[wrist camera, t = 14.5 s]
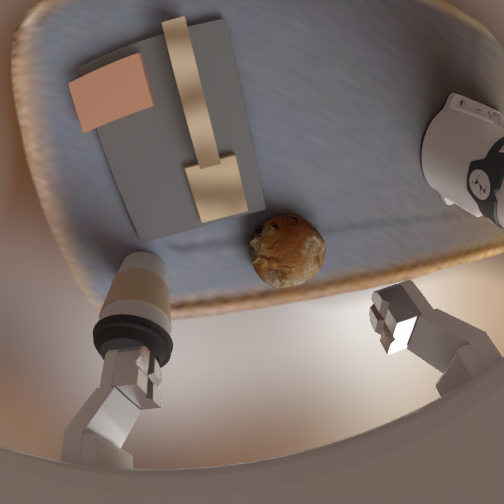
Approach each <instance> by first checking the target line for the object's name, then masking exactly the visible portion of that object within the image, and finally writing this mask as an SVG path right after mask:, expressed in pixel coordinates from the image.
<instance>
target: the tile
mask: <svg viewBox="0 0 504 504" xmlns="http://www.w3.org/2000/svg"><path fill="white" fill-rule="evenodd" d="M68 84H69V88H70V91H71V95H72V98H73V102H74V105H75V108H76V111H77V115H78V118H79V121H80V124H81V127H82V130H83V133H86V132H88V131H91V130H93V129H95V128H97V127H100V126H102V125H104V124H107V123H109V122H112V121H114V120H117V119H119V118H122V117H124V116H127V115H130V114H132V113H135V112H138V111H141V110H143V109H146V108H149V107H152V106H154V105H156V104H155V100H154V96H153V93H152V89H151V86H150V82H149V78H148V74H147V71H146V67H145V63H144V59H143V55H142V53H136V54H134V55H131V56H128V57H126V58H123V59H121V60H118V61H116V62H113V63H111V64H109V65H106V66H104V67H102V68H99V69H97V70H95V71H93V72H91V73H88V74H86V75H84V76H82V77H80V78H78V79H76V80H74V81H72V82H70V83H68Z"/></svg>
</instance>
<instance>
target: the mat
mask: <svg viewBox="0 0 504 504" xmlns="http://www.w3.org/2000/svg"><path fill="white" fill-rule="evenodd" d="M188 32H189V36H190V40H191V44H192V48H193V52H194V56H195V61H196V65H197V69H198V73H199V77H200V81H201V85H202V89H203V93H204V97H205V101H206V105H207V109H208V113H209V117H210V121H211V125H212V129H213V133H214V137H215V141H216V145H217V149H218V153H219V157H223V156H227V155H231V154H235V156H236V160H237V164H238V169H239V173H240V178H241V182H242V186H243V191H244V195H245V199H246V204H247V208H248V211H247V212H243V213H239V214H235V215H231V216H227V217H223V218H219V219H216V220H212V221H208V222H204V223H202V222H201V219H200V216H199V212H198V209H197V206H196V203H195V200H194V197H193V194H192V190H191V187H190V184H189V181H188V177H187V174H186V171H185V167H186V166H190V165H193V164H197V163H198V160H197V157H196V153H195V150H194V146H193V142H192V139H191V135H190V132H189V128H188V124H187V121H186V117H185V113H184V109H183V106H182V102H181V98H180V94H179V90H178V87H177V83H176V79H175V75H174V71H173V67H172V63H171V59H170V55H169V51H168V47H167V43H166V39H165V35H164V33H163V34H160V35H157V36H154V37H151V38H148V39H145V40H142V41H139V42H136V43H134V44H131V45H128V46H126V47H123V48H121V49H118V50H116V51H113V52H111V53H108V54H106V55H104V56H102V57H99V58H97V59H95V60H93V61H91V62H88V63H86V64H84V65H82V66H80V67H78V68H79V72H80V76H81V77H82V76H84V75H86V74H88V73H91V72H93V71H95V70H97V69H99V68H102V67H104V66H106V65H109V64H111V63H113V62H116V61H118V60H121V59H123V58H126V57H128V56H131V55H134V54H136V53H142V55H143V59H144V63H145V67H146V71H147V74H148V78H149V82H150V86H151V89H152V93H153V96H154V100H155V104H156V105H154V106H152V107H149V108H146V109H143V110H141V111H138V112H135V113H132V114H130V115H127V116H124V117H122V118H119V119H117V120H114V121H112V122H109V123H107V124H104V125H102V126H100V127H97V128H96V129H97V132H98V135H99V138H100V141H101V143H102V146H103V149H104V152H105V155H106V157H107V160H108V163H109V166H110V168H111V171H112V173H113V176H114V179H115V181H116V184H117V186H118V189H119V191H120V194H121V196H122V198H123V201H124V203H125V206H126V208H127V210H128V213H129V215H130V217H131V220H132V222H133V224H134V227H135V229H136V231H137V233H138V235H139V238H140V240H141V242H142V243H144V242H147V241H151V240H154V239H158V238H161V237H165V236H168V235H172V234H175V233H179V232H183V231H186V230H190V229H193V228H197V227H201V226H205V225H208V224H212V223H216V222H220V221H223V220H227V219H231V218H235V217H239V216H243V215H247V214H251V213H255V212H259V211H263V210H266V206H265V201H264V196H263V190H262V185H261V180H260V175H259V170H258V165H257V160H256V155H255V150H254V145H253V141H252V136H251V131H250V126H249V121H248V117H247V112H246V107H245V103H244V98H243V93H242V89H241V84H240V80H239V75H238V71H237V66H236V62H235V57H234V53H233V48H232V44H231V40H230V35H229V31H228V27H227V23H226V19H220V20H215V21H210V22H206V23H201V24H197V25H193V26H189V27H188Z"/></svg>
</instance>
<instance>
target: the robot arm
mask: <svg viewBox="0 0 504 504" xmlns="http://www.w3.org/2000/svg"><path fill="white" fill-rule="evenodd" d="M422 168H423V173H424V176H425V178H426V180H427V182H428V183H429V185H430V186H431V187H432V188H434V189H435V190H436V191H438V192H439V193H440V196H441V198H442V201H443V202H444V203H445V204H447V205H452V204H454V203H455V204H457V205H458V206H460V207H462V208H463V209H465V210H467V211H468V212H470V213H471V214H473V215H475V216H477V217H480V216H482V215H483V216H485V217H486V218H487V219H488V220H489V221H490V222H491V223H493V224H494V225H497V226H498V227H499V228H502V229H504V115H502V114H501V113H500V112H499V111H497V110H495V109H492V108H490V107H488V106H486V105H484V104H481V103H479V102H477V101H474V100H472V99H470V98H467V97H465V96H462V95H459V94H457V93H451V94H450V95H449V97H448V99H447V101H446V104H445V106H444V108H443V109H442V110H441V111H440V112H439V113H438V114H437V115H436V116H435V117H434V119H433V120H432V122H431V123H430V125H429V127H428V129H427V131H426V134H425V137H424V141H423V146H422ZM372 301H373V303H374V304H373V305H372V306H371V307H370V313H369V314H370V321H371V324H372V326H373V328H374V330H375V332H377V333H379V334H381V339H380V342H381V343H382V345H383V347H384V349H385V351H386V353H387V354H390V353H393V352H396V351H399V350H401V349H404V348H406V347H407V349H409V350H410V351H411V352H413V353H414V354H416V355H417V356H419V357H420V358H422V359H423V360H425V361H426V362H427V363H429V364H430V365H432V366H433V367H435V368H436V369H438V370H439V371H441V372H442V373H443V374H442V376H441V377H440V378H439V380H438V382H437V383H436V388H437V390H438V392H439V394H440V396H441V398H438V399H437V400H435V401H433V402H431V403H429V404H427V405H425V406H423V407H421V408H419V409H417V410H415V411H413V412H411V413H409V414H406V415H404V416H402V417H400V418H397V419H395V420H393V421H390V422H388V423H386V424H383V425H381V426H378V427H376V428H373V429H371V430H368V431H365V432H363V433H360V434H357V435H354V436H351V437H348V438H346V439H342V440H339V441H336V442H333V443H330V444H326V445H323V446H320V447H316V448H312V449H308V450H304V451H301V452H296V453H292V454H288V455H284V456H279V457H274V458H269V459H264V460H258V461H252V462H246V463H239V464H232V465H224V466H214V467H202V468H189V469H133V457H132V455H131V454H130V453H128V452H126V451H124V450H122V449H121V446H122V445H123V443H124V441H125V439H126V437H127V435H128V434H129V432H130V430H131V428H132V426H133V425H134V423H135V421H136V419H137V417H138V415H139V414H140V412H141V409H151V408H160V407H161V391H160V390H159V389H158V386H159V384H160V383H161V379H162V377H161V376H162V375H161V369H160V366H159V364H158V362H157V360H156V359H155V358H153V357H151V356H149V355H150V351H149V350H148V349H147V347H146V346H141V347H133V348H124V349H116V350H108V352H107V353H106V355H105V360H104V365H103V371H102V376H101V382H100V388H96V390H95V391H94V392H93V393H92V395H91V396H90V397H89V398H88V400H87V401H86V402H85V404H84V405H83V406H82V408H81V409H80V410H79V412H78V413H77V414H76V416H75V417H74V419H73V420H72V421H71V422H70V424H69V425H68V426H67V428H66V429H65V432H64V438H63V446H62V455H61V461H60V460H54V459H50V458H45V457H41V456H37V455H33V454H29V453H25V452H21V451H18V450H14V449H11V448H8V447H0V504H504V357H502V356H501V354H500V353H499V351H498V350H497V348H496V347H495V345H494V344H493V342H492V341H491V339H490V338H489V336H488V335H487V333H486V332H484V331H482V330H480V329H478V328H476V327H474V326H472V325H470V324H468V323H466V322H464V321H462V320H460V319H457V318H455V317H453V316H451V315H449V314H447V313H445V312H443V311H441V310H439V309H433V308H432V307H431V305H430V304H429V303H428V301H427V300H426V298H425V297H424V296H423V294H422V293H421V292H420V291H419V289H418V288H417V287H416V285H415V284H414V283H413V282H412V281H411V280H408V281H405V282H402V283H399V284H395V285H392V286H389V287H386V288H383V289H380V290H378V291H375V292H374V293H373V294H372Z"/></svg>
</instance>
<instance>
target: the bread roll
mask: <svg viewBox="0 0 504 504" xmlns="http://www.w3.org/2000/svg"><path fill="white" fill-rule="evenodd" d="M255 232H256V233H255V235H254V238H253V239H252V240H251V241H250V245H251V246H252V250H251V263H252V265H253V267H254V269H255V271H256V273H257V274H258V275H259V277H260V278H261V279H262V280H263V281H264V282H266V283H267V284H269V285H271V286H273V287H277V288H278V287H281V288H282V287H291V286H296V285H299V284H301V283H303V282H305V281H307V280H308V279H310V278H312V277H313V276H315V275H316V274H317V273H318V271H319V270H320V269H321V267H322V264H323V261H324V258H325V252H326V248H325V242H324V240H323V238H322V236H321V235H320V233H319V232H318V231H317V230H316V229H315V228H313V227H312V226H311V225H310V223H308V222H307V221H305V220H304V219H302V218H301V217H299V216H296V215H278V216H276V217H273V218H271V219H269V220H268V221H267V222H265V223H264V224H263V225H261V226H258V227H256V228H255Z"/></svg>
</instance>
